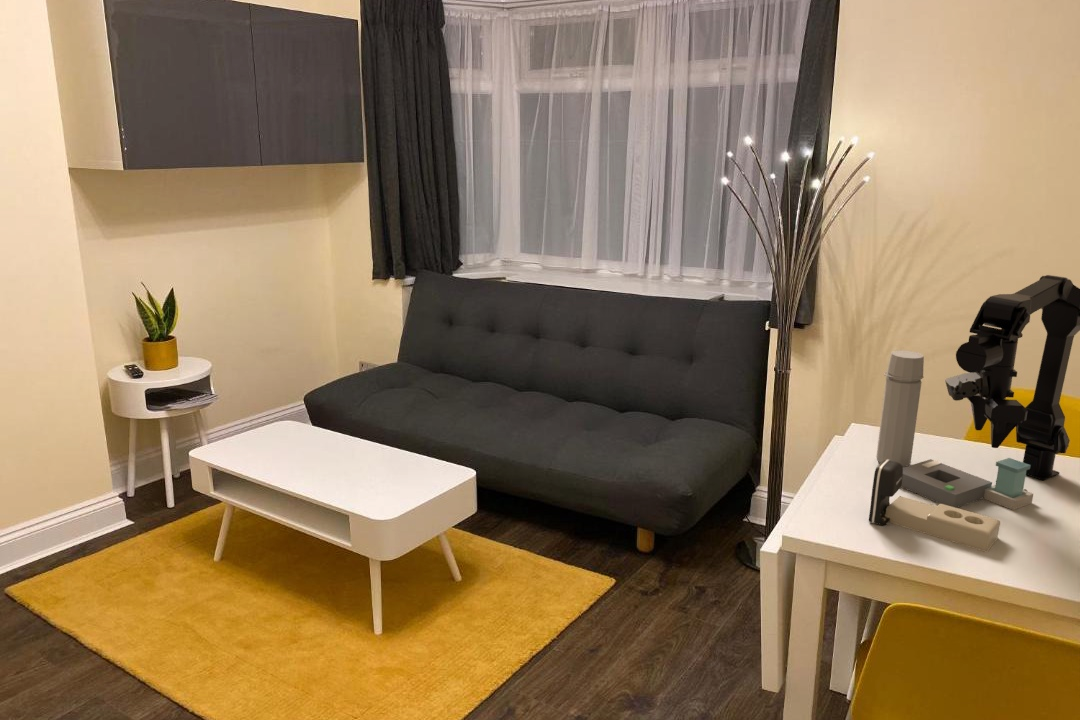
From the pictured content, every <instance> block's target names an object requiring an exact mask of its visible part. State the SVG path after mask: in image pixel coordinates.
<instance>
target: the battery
mask: <svg viewBox="0 0 1080 720" xmlns="http://www.w3.org/2000/svg"><path fill="white" fill-rule="evenodd" d="M902 477H903V467H902V465H901V464H900V463H898V462H895V461H890V460H888V459H887V460H886V459H884V460H883V461H882V462H881V463H879V464H878V465H877V466H876V468H875V471H874V475H873V481H872V491H871V499H870V508H869V515H868V522H869V523H871V524H875V525H879V526H881V525H882V526H885V525H888V523H890V522H889V521H890V518H888V516H887V515H886V508H887V507H888V506H889V505H890V504H891V502H890V498H891V497H894V496H895V495H896V493H897V492H898V491H899V490H900V489H901V488H902V487H901V486H902ZM885 516H886V517H885Z"/></svg>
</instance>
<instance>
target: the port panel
mask: <svg viewBox="0 0 1080 720" xmlns="http://www.w3.org/2000/svg"><path fill="white" fill-rule="evenodd" d="M992 486H993V482H992V481H990V480H987V479H984V478H982V477H979V476H977V475H974V474H971V473H970V472H969V473H968V472H966V471H963V470H961V469H957V468H955V467H952V466H950V465H946V464H944V463H942V462H941V461H938V460H934V459H932V458H930V459H927V460H923V461H920V462H917V463H913V464H911V465H910V464H909V465H908V466H906V467H903V477H902V486H901V487H900V488H902V487H903V488H902V489H904V488H905V489H904V490H907V489H908V490H907V491H909V492H912V493H915V494H916V493H917V494H916V495H919V496H922V497H923V498H926V499H929V500H930V501H933V502H936V503H937V504H938V503H939V504H944V505H948V506H952V507H955V508H960V507H963V506H965V505H968V504H971V503H975V502H978V501H979V500H983V499H984V492H985V489H987V488H990V487H992Z"/></svg>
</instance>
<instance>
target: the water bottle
mask: <svg viewBox="0 0 1080 720" xmlns="http://www.w3.org/2000/svg"><path fill="white" fill-rule="evenodd" d="M924 357H925V356H924V355H923V354H922V353H920V352H918V351H912V350H902V349H901V350H893V351H891V352H890V356H889V360H888V365H887V368H886V369H887V370H886V372H884V373H883V375H884V377H885V385H884V391H883V392H884V393H883V399H882V400H883V402H882V409H881V416H880V417H881V418H880V424H879V432H878V433H879V434H878V441H877V450H876V455H875V457H876V460H877V462H878V463H879V464H880V463H881V462H882V461H883V460H884V459H886V460H887V459H888V460H890V461H895V462H898V463H900V464H901V465H902V467H907V466H910V464H911V463H912V456H913V448H914V440H915V433H916V427H917V426H916V425H917V419H918V410H919V403H920V395H921V389H922V381H921V380H922V379H924V364H925V363H924V360H925V359H924Z"/></svg>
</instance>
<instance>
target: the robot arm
mask: <svg viewBox="0 0 1080 720" xmlns="http://www.w3.org/2000/svg"><path fill="white" fill-rule="evenodd" d="M1039 310H1041V318H1040V319H1041V323H1042V324H1043V327H1044V329H1045V331H1046V338H1045V343H1044V348H1043V352H1042V356H1041V361H1040V366H1039V371H1038V374H1037V379H1036V385H1035V389H1034V394H1033V398H1032V400H1031V402H1029V403H1028V404H1027V405H1026V406H1024V405H1023V404H1022V403H1021V402H1020V401H1019V400H1017V399H1007V398H1014V397H1015V391H1013V390H1012V382H1013V378H1017V377H1018V376H1017V375H1018V371H1017V370H1016V369H1014V367H1015V362H1016V355H1017V351H1018V350H1017V349H1018V342H1019V339H1020V338H1023V333H1022V332H1023V331H1024V329H1025V327H1026V326H1027V325H1028V324H1029V323H1030V321H1031V315H1032V314H1034V313H1035V312H1037V311H1039ZM1079 332H1080V287H1078V286H1076V285H1074V283H1073V281H1072V279H1069V278H1068V277H1064V276H1058V275H1051V274H1046V275H1042V276H1040V278H1039V280H1036V281H1035V282H1032V284H1029V285H1028V286H1027V285H1026V286H1025V287H1024V288H1022V289H1020V290H1018V291H1016V292H1014V293H1002V294H1001V293H1000V294H999V293H998V294H995V295H994V294H993V295H991V296H989V297H988V298H986V299H985V301H984V302H983V303H982V305H981V306H980V308H979V310H978V312H977V314H976V317H975V319H974V320H973V323H972V324H971V327H970V328H969V333H971V334H970V335H969V336H968V342H967V341H966V342H963V343H962V344H961V345H960V346H959V347H958V348H957V350H956V351H955V359H956V360H955V361H956V362H957V365H958V366H959V368H961V369H962V370H963V371H964V372H965V373H961V374H958V375H954V376H950V377H948V378H946V379H944V380H945V382H944V383H945V386H946V389H947V393H948V396H950V397H951V398H952V400H953V401H955V402H957V401H962V400H964V399H967V400H968V402H970V406H971V411H972V412H971V413H972V418H973V425H974V429H975V430H976V431H982V430H983V428H984V426H985V425H986V422H987V421H989V422H990V445H991V448H993V449H998V448H999V447H1000V446H1001V445H1002V444H1003V442H1004V441H1005V439H1007V437H1008V436H1009V435H1010V433H1011V432H1012V431H1013V430H1014V429H1015V435H1016V440H1015V441H1016V443H1018V444H1023V445H1025V447H1024V453H1023V458H1022V459H1023V460H1022V462H1023V463H1026V464H1029V465H1031V466H1030V469H1028V470H1027V471H1026V476H1029V477H1033V478H1035V479H1037V480H1038V479H1039V480H1040V481H1045V480H1049V479H1051V478H1054V477H1057V476H1059V475H1060V472H1059V471H1057V470H1054V465H1055V459H1056V455H1058V454H1066V452H1067V450H1068V447H1069V446H1070V445H1069V444H1070V438H1069V436H1068V433H1067V429H1066V428H1065V422H1066V421H1065V420H1066V416H1065V413H1064V411H1063V409H1062V407H1061V404H1060V401H1061V396H1062V392H1063V387H1064V383H1065V379H1066V374H1067V369H1068V363H1069V360H1070V356H1071V351H1072V346H1073V343H1074V337H1075V336H1076V335H1077V334H1078V333H1079ZM966 372H967V373H966Z"/></svg>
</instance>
